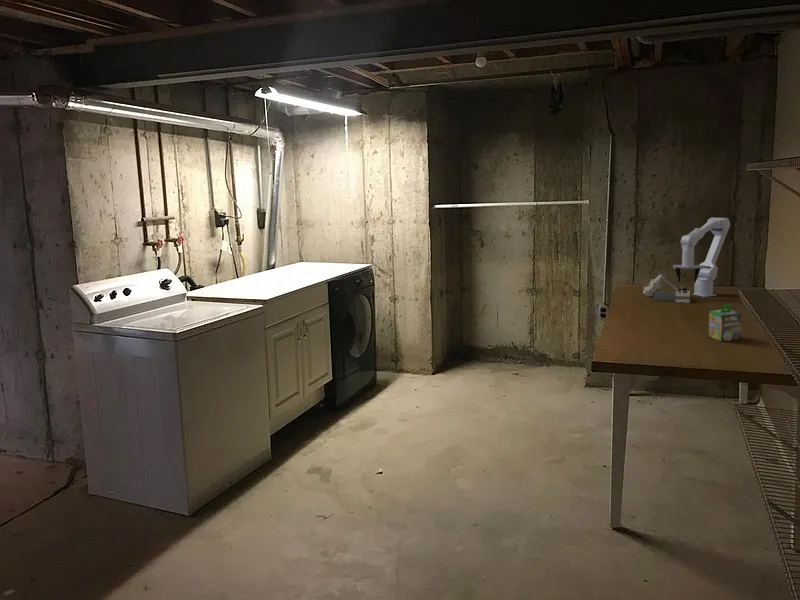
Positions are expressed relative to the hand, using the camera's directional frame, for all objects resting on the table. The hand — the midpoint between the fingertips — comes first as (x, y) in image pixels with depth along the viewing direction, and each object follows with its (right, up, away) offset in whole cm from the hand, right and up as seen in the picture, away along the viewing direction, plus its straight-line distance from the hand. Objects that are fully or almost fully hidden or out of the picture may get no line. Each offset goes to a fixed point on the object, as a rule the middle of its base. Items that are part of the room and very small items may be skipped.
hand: (687, 282), depth 349 cm
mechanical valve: (-7, -8, +14) cm, 18 cm away
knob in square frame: (-7, -9, +4) cm, 12 cm away
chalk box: (-21, -26, -81) cm, 87 cm away
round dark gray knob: (-4, -11, -4) cm, 12 cm away
